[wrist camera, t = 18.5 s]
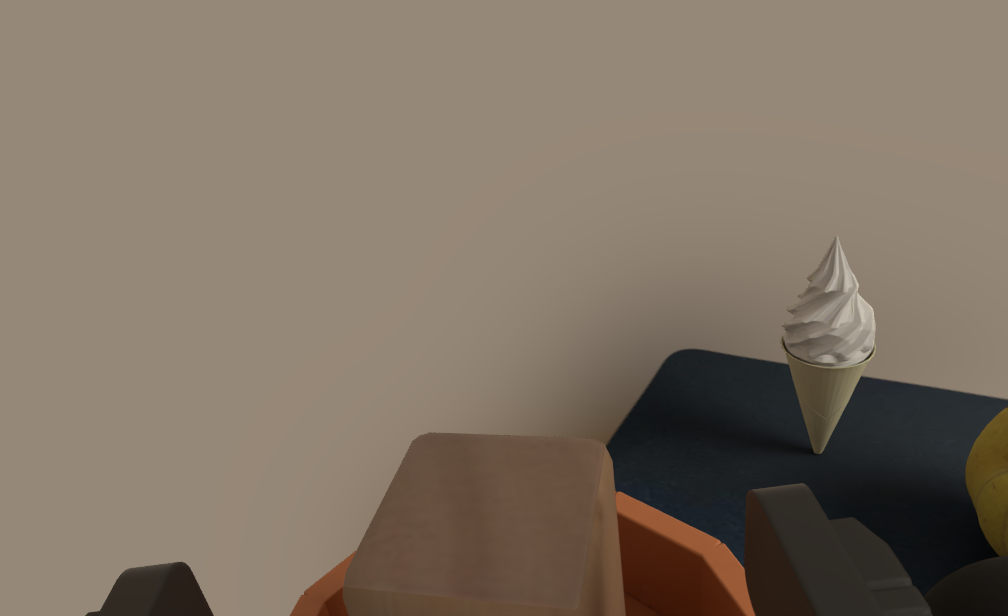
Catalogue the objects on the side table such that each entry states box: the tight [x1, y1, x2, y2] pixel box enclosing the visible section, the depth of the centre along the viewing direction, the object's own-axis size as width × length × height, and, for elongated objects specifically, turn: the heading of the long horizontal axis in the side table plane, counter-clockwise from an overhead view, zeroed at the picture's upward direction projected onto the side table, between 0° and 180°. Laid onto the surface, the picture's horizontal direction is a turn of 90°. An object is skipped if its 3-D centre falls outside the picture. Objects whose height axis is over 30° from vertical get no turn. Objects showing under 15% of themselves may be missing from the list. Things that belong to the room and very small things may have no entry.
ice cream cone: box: [781, 236, 876, 454], centre depth 42 cm, size 5×5×15 cm
